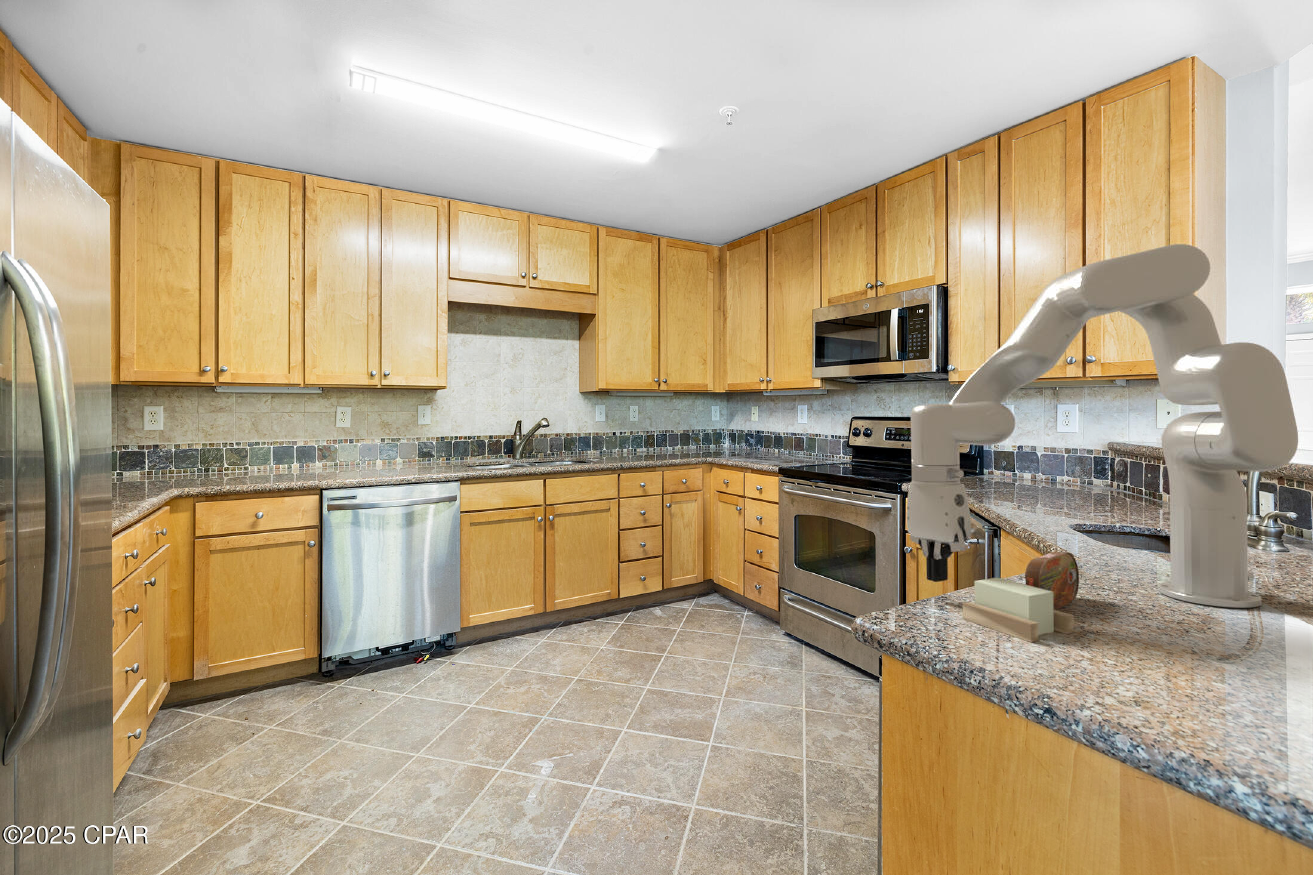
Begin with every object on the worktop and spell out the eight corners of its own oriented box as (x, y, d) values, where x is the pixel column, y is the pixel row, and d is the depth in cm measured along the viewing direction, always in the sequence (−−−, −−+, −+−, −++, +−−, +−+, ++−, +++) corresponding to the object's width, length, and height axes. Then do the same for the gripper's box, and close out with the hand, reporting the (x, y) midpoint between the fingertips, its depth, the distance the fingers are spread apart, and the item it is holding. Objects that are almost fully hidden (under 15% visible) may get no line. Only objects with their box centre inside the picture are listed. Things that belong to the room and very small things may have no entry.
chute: (1003, 611, 94) (1002, 595, 94) (1073, 632, 84) (1073, 615, 84) (962, 619, 91) (962, 603, 91) (1031, 642, 80) (1030, 624, 80)
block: (998, 614, 93) (997, 577, 93) (1053, 632, 84) (1053, 591, 84) (975, 618, 91) (974, 581, 91) (1029, 637, 83) (1028, 595, 82)
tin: (1043, 616, 91) (1042, 563, 91) (1021, 611, 94) (1020, 559, 94) (1081, 598, 100) (1080, 549, 100) (1060, 594, 102) (1060, 547, 102)
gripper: (989, 476, 95) (991, 588, 95) (917, 471, 109) (919, 568, 109) (956, 479, 92) (958, 593, 92) (886, 473, 106) (888, 573, 106)
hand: (937, 579), depth 100 cm, fingers closed
